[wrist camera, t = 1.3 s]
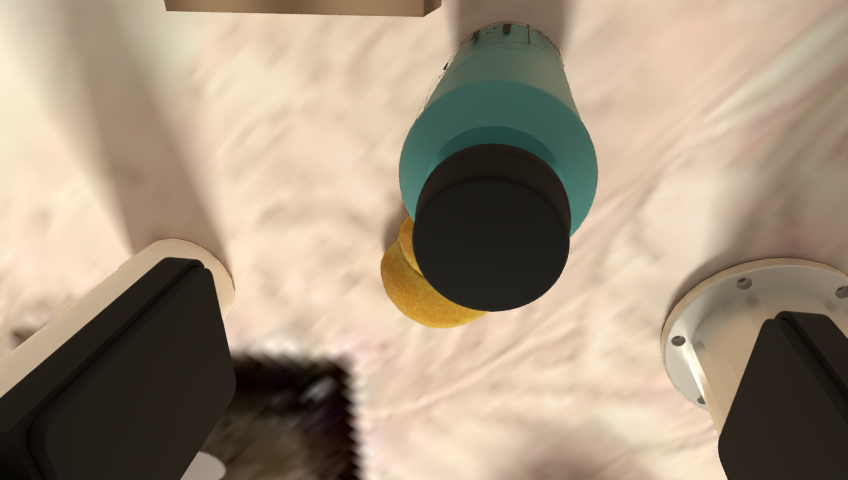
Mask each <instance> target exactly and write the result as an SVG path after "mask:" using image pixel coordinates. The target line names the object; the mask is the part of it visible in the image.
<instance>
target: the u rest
mask: <svg viewBox="0 0 848 480" xmlns="http://www.w3.org/2000/svg"><path fill="white" fill-rule="evenodd" d="M164 2H165V7H166V11H188V12H232V13H276V14H319V15H363V16H407V17H424V16H426V15H427V14H429V13H431V12H432V11H434V10H435V9H437V8H439V7H440V6H441V0H164Z"/></svg>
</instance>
